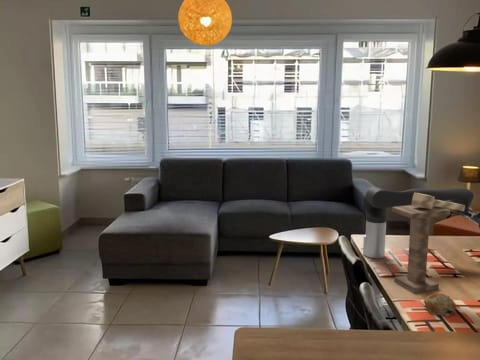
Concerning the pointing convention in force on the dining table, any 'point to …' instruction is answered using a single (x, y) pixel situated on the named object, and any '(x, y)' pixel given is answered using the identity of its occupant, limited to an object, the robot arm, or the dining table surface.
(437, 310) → the bread roll
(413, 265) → the stand
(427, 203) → the mallet
